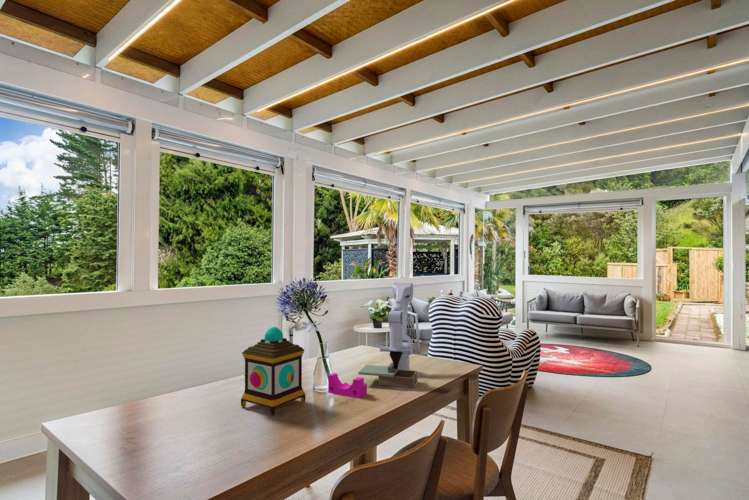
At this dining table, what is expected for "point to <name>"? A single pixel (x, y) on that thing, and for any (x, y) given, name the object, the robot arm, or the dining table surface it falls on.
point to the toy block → (347, 387)
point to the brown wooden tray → (399, 380)
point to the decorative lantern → (273, 371)
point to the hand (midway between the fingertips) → (396, 368)
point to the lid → (379, 370)
